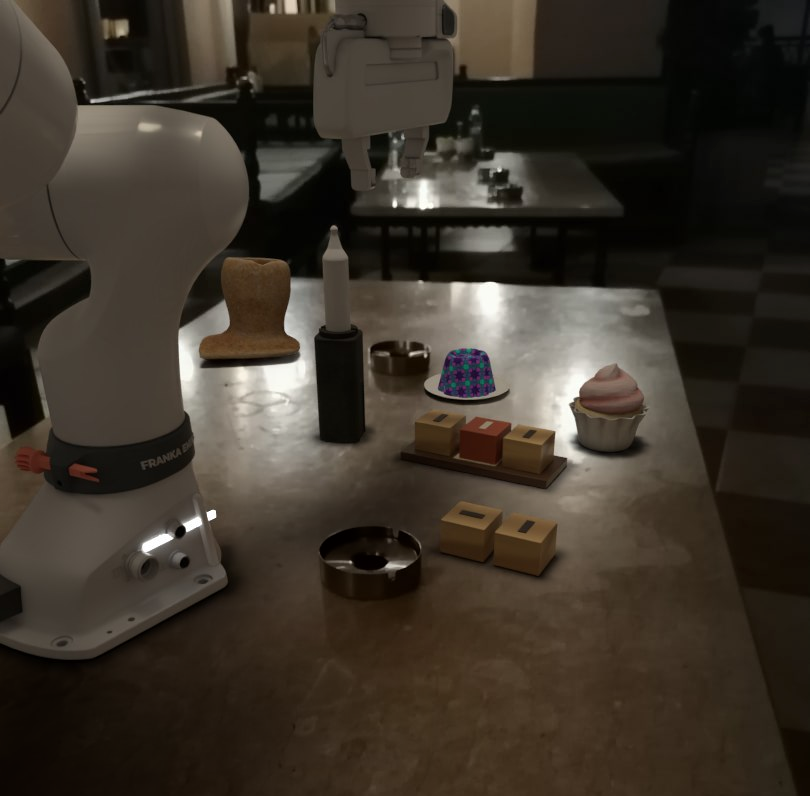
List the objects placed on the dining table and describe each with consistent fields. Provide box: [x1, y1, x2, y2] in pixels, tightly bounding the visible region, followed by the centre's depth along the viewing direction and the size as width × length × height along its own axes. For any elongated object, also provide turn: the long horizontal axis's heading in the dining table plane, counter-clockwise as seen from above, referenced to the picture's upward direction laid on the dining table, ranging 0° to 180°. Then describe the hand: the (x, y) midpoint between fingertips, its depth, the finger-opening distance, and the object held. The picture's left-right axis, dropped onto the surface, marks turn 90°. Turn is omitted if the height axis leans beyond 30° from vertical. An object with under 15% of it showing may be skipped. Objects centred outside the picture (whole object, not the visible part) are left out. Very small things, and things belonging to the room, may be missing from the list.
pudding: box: [423, 347, 511, 401], centre depth 126 cm, size 12×12×5 cm
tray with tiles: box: [400, 409, 568, 490], centre depth 104 cm, size 7×18×5 cm, turn 62°
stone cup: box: [198, 257, 301, 360], centre depth 139 cm, size 15×12×15 cm
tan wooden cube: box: [493, 512, 559, 577], centre depth 84 cm, size 4×4×4 cm
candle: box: [313, 225, 366, 444], centre depth 107 cm, size 5×5×25 cm
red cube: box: [459, 416, 512, 465], centre depth 104 cm, size 4×4×4 cm
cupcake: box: [568, 362, 650, 453], centre depth 108 cm, size 9×9×10 cm
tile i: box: [439, 500, 504, 563], centre depth 87 cm, size 4×4×4 cm
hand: (388, 183), depth 86 cm, fingers open, 8 cm apart
